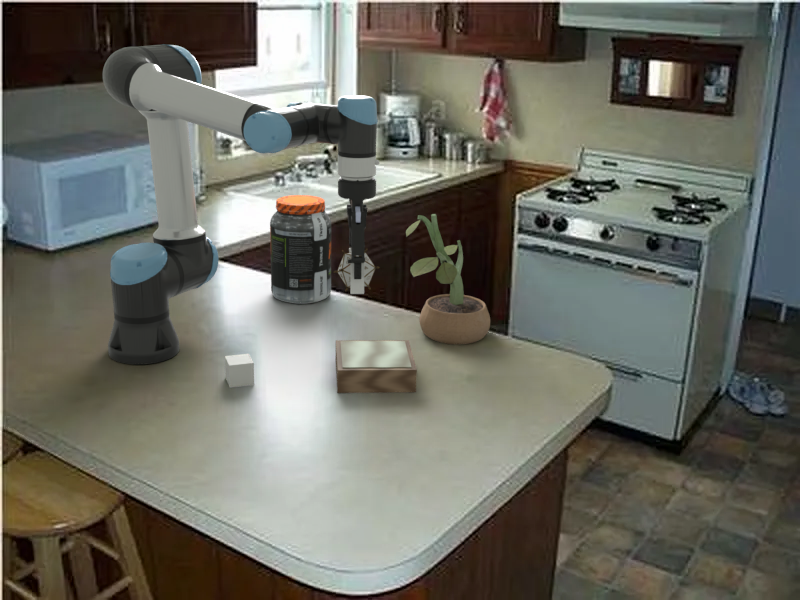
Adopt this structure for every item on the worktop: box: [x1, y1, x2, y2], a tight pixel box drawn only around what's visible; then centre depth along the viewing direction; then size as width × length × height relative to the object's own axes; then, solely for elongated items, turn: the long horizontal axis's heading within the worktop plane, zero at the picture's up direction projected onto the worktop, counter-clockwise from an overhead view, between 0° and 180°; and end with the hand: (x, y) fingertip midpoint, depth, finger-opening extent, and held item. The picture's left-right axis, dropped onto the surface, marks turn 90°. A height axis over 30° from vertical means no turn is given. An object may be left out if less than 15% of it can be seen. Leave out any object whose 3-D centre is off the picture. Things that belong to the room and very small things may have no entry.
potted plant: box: [405, 213, 491, 345], centre depth 211 cm, size 22×18×30 cm
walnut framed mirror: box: [335, 339, 418, 394], centre depth 190 cm, size 16×16×5 cm
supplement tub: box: [269, 194, 332, 305], centre depth 234 cm, size 16×16×26 cm
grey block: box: [224, 353, 255, 389], centre depth 186 cm, size 5×5×5 cm
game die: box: [333, 248, 381, 292], centre depth 183 cm, size 9×8×10 cm
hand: (356, 285), depth 184 cm, fingers closed on game die, 9 cm apart
